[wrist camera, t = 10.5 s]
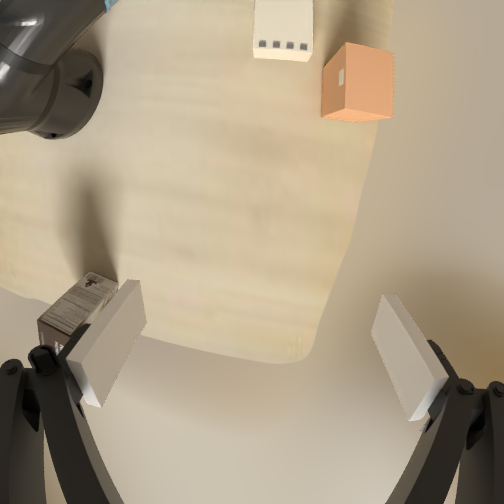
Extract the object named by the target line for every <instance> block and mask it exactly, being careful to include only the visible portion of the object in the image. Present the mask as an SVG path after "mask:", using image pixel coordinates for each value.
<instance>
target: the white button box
mask: <svg viewBox="0 0 504 504" xmlns="http://www.w3.org/2000/svg"><path fill="white" fill-rule="evenodd" d="M254 7H255V17H254V36H253V52H254V58H267V59H284V60H295V61H305V62H308V60H309V58H310V56H311V55H312V53H313V0H255V6H254Z"/></svg>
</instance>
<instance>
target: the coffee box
mask: <svg viewBox="0 0 504 504" xmlns="http://www.w3.org/2000/svg"><path fill="white" fill-rule="evenodd" d="M117 290H118V283H117V282H115V281H112V280H110V279H107V278H105V277H103V276H100V275H98V274H95V273H93V272H91V271H90V272H88V273H87V274H86V275H85V276H84V277H83V278H82V279H80V280H79V281H78V282H77V283H76V284H75V285H74V286H73V287H71V288H70V289H69V290H68V291H67V292H66V293H65V294H64V295H63V296H62V297H60V298H59V299H58V300H57V301H56V302H55V303H54V304H53V305H52V306H51V307H50V308H49V309H48V310H47V311H46V312H45V313H44V314H42V315H41V316H40V317H39V319H37V324H38V332H39V340H40V345H45V344H46V345H50V346H52V347H53V348H54V350H55V352H56V355H58V353H59V352H60V351H61V350H62V348H63V347H64V346H65V344H66V343H67V342H68V340H69V339H70V338H71V337H73V334H74V333H75V332H76V330H77V329H78V328H79V327H81V326H82V325H84V324H85V323H88V324H92V323H93V322H94V320H95V319H96V318H97V316H98V315H99V314H100V313H101V311H102V310H103V309H104V307H105V306H106V305H107V304H108V302H109V301H110V300H111V299H112V298H113V296H114V295H115V294H116V293H117Z"/></svg>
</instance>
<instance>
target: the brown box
mask: <svg viewBox="0 0 504 504" xmlns="http://www.w3.org/2000/svg"><path fill="white" fill-rule="evenodd" d="M393 108H394V53H392V52H388V51H384V50H380V49H376V48H372V47H368V46H363V45H359V44H354V43H349V42H345V44H344V45H343V46H342V47H341V48H340V49H339V50H338V51H337V53H336V54H335V55H334V56H333V57H332V58H331V60H330V61H329V62H328V63H327V64H326V65H325V67H324V68H323V78H322V105H321V117H323V118H331V119H338V120H345V121H352V122H362V121H369V120H377V119H384V118H393Z"/></svg>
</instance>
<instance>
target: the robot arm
mask: <svg viewBox="0 0 504 504" xmlns="http://www.w3.org/2000/svg"><path fill="white" fill-rule="evenodd" d="M117 1H118V0H0V134H6V133H13V132H20V131H28V132H31V133H33V134H35V135H38V136H40V137H42V138H45V139H51V140H54V139H63V138H67V137H70V136H72V135H74V134H76V133H77V132H78V131H80V130H81V129H82V128H83V127H84V126H85V125H86V124H87V122H88V121H89V120H90V118H91V117H92V115H93V113H94V112H95V110H96V108H97V105H98V103H99V100H100V96H101V92H102V83H103V79H102V71H101V67H100V65H99V63H98V61H97V59H96V58H95V57H94V56H93V55H92V54H90V53H88V52H86V51H83V50H80V49H76V48H71V47H72V46H73V44H74V43H75V42H76V41H77V40H78V39H79V38H80V37H81V36H82V35H83V34H84V33H85V32H86V31H87V30H88V29H89V28H90V27H91V26H92V25H93V24H94V23H95V22H96V21H97V20H98V19H99V18H100V17H101V16H102V15H103V14H104V13H107V12H109V10H110V8H111V7H112V6H113V5H114V4H115V3H116V2H117ZM145 324H146V316H145V310H144V304H143V298H142V292H141V285H140V281H139V280H128V279H127V281H126V282H125V283H124V284H123V285H122V287H121V288H120V289H119V290H118V291H117V293H116V294H115V295H114V296H113V298H112V299H111V300H110V301H109V302H108V304H107V305H106V306H105V307H104V309H103V310H102V311H101V313H100V314H99V315H98V316H97V318H96V319H95V320H94V322H93V323H92V324H88V323H85V324H84V325H82V326H81V327H79V328H78V329H77V330H76V332H75V333H74V334H73V337H71V338H70V339H69V340H68V342H67V343H66V344H65V346H64V347H63V348H62V350H61V351H60V352H59V353H58V355H56V352H55V350H54V348H53V347H52V346H50V345H46V344H45V345H39V346H37V347H35V348H34V349H32V350H31V351H30V353H29V354H28V360H29V362H30V364H31V366H32V368H24V367H23V365H22V363H21V361H20V360H18V359H11V360H8V361H6V362H5V363H4V364H2V366H1V368H0V504H46V494H45V481H44V456H43V455H44V453H43V452H44V451H43V450H44V447H43V446H44V443H43V442H44V430H45V434H46V438H47V442H48V446H49V450H50V454H51V458H52V461H53V464H54V468H55V471H56V474H57V477H58V480H59V483H60V486H61V489H62V492H63V494H64V497H65V499H66V502H67V504H124V502H123V501H122V499H121V497H120V495H119V493H118V491H117V489H116V487H115V485H114V484H113V482H112V479H111V478H110V475H109V473H108V471H107V469H106V467H105V465H104V462H103V460H102V458H101V456H100V453H99V451H98V449H97V446H96V444H95V441H94V439H93V436H92V433H91V431H90V428H89V425H88V423H87V420H86V417H85V414H84V411H83V408H82V405H81V404H80V402H79V401H80V400H81V398H82V396H83V397H84V399H85V400H86V402H87V404H90V405H93V406H97V407H100V408H102V406H103V404H104V402H105V400H106V398H107V396H108V394H109V392H110V390H111V388H112V386H113V384H114V382H115V380H116V378H117V376H118V374H119V372H120V370H121V368H122V367H123V365H124V363H125V361H126V359H127V357H128V355H129V353H130V351H131V350H132V348H133V346H134V344H135V342H136V340H137V338H138V336H139V335H140V333H141V331H142V329H143V328H144V326H145ZM371 335H372V337H373V340H374V342H375V344H376V346H377V348H378V350H379V353H380V355H381V357H382V360H383V362H384V364H385V367H386V369H387V371H388V373H389V376H390V378H391V381H392V383H393V385H394V388H395V390H396V393H397V395H398V398H399V400H400V403H401V405H402V408H403V410H404V413H405V415H406V418H407V421H408V422H409V421H414V420H419V419H422V418H423V417H424V415H425V413H426V412H427V411H428V412H429V415H430V418H429V419H428V421H427V422H426V423H425V425H424V426H423V427H422V429H421V430H420V431H423V432H422V435H421V437H420V439H419V441H418V444H417V446H416V448H415V450H414V452H413V454H412V456H411V458H410V461H409V462H408V465H407V466H406V468H405V470H404V472H403V474H402V476H401V478H400V480H399V482H398V483H397V485H396V487H395V488H394V490H393V492H392V494H391V495H390V497H389V499H388V500H387V502H386V503H385V504H443V503H444V501H445V499H446V496H447V494H448V491H449V489H450V486H451V484H452V481H453V478H454V475H455V473H456V469H457V467H458V464H459V461H460V468H459V477H458V486H457V494H456V500H455V504H504V384H503V383H501V382H498V381H493V382H491V383H490V384H489V386H488V387H487V389H476V388H475V387H474V385H473V384H472V383H471V382H470V381H468V380H466V379H462V378H461V379H459V377H458V376H457V374H456V372H455V371H454V369H453V367H452V366H451V365H450V363H449V361H448V360H447V358H446V356H445V355H444V354H443V352H442V351H441V349H440V347H439V346H438V345H437V344H436V343H435V342H433V341H432V340H426V339H425V337H424V336H423V334H422V333H421V331H420V330H419V328H418V327H417V325H416V324H415V322H414V321H413V319H412V318H411V316H410V315H409V313H408V312H407V310H406V309H405V307H404V306H403V305H402V303H401V302H400V300H399V299H398V298H397V296H396V295H395V293H383V294H382V298H381V301H380V305H379V308H378V312H377V315H376V318H375V321H374V325H373V328H372V331H371ZM423 429H424V430H423Z"/></svg>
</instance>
